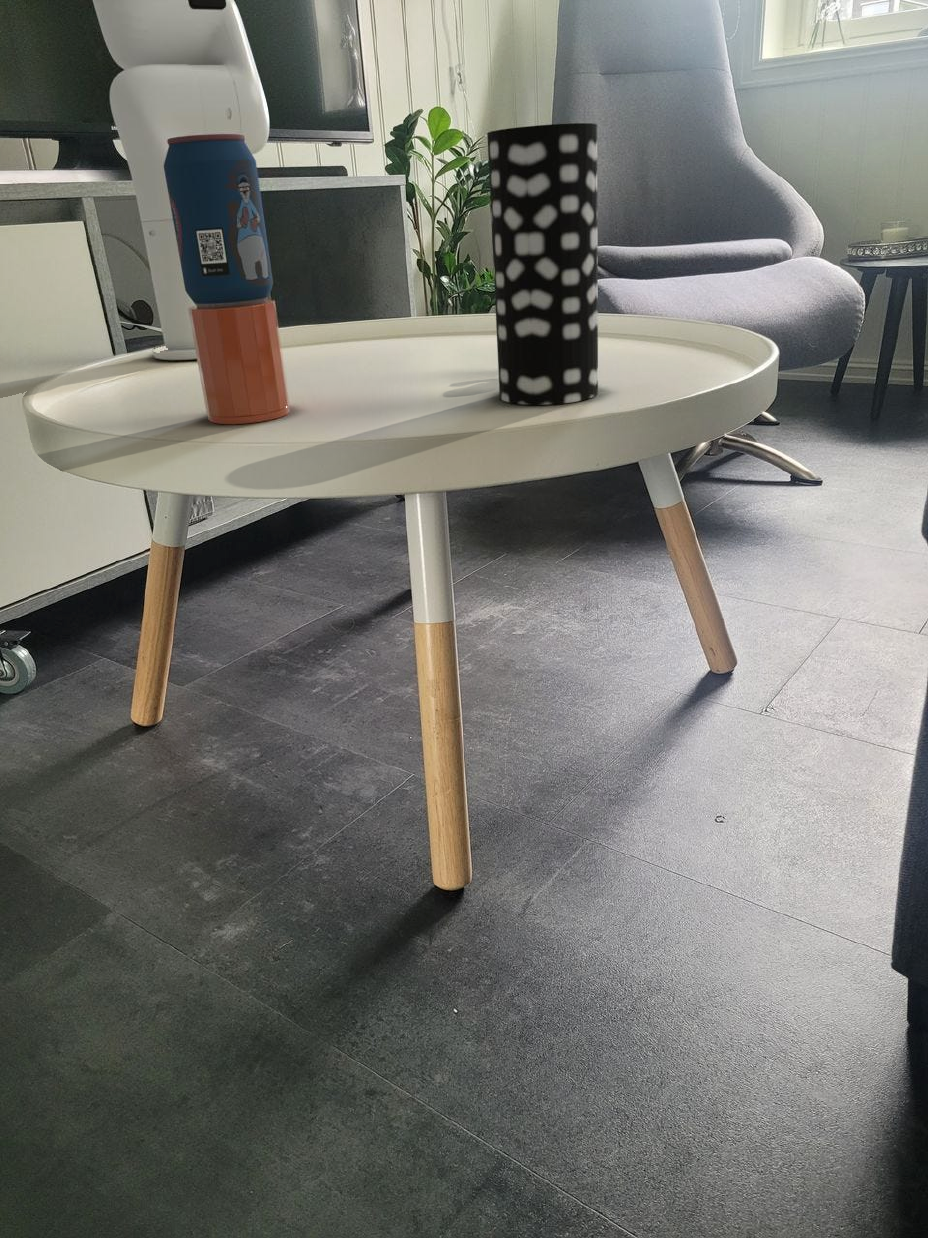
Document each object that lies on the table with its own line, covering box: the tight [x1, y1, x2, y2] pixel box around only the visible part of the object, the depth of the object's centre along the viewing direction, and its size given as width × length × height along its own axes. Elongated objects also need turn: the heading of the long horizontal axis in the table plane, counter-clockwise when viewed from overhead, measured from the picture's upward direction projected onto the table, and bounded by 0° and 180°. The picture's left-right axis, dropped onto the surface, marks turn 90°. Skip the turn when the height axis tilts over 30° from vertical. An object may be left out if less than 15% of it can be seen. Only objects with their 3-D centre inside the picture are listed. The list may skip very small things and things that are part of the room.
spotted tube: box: [486, 122, 599, 406], centre depth 74 cm, size 8×8×20 cm
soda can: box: [164, 134, 274, 308], centre depth 72 cm, size 7×7×12 cm
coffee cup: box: [188, 299, 290, 425], centre depth 76 cm, size 7×7×9 cm
